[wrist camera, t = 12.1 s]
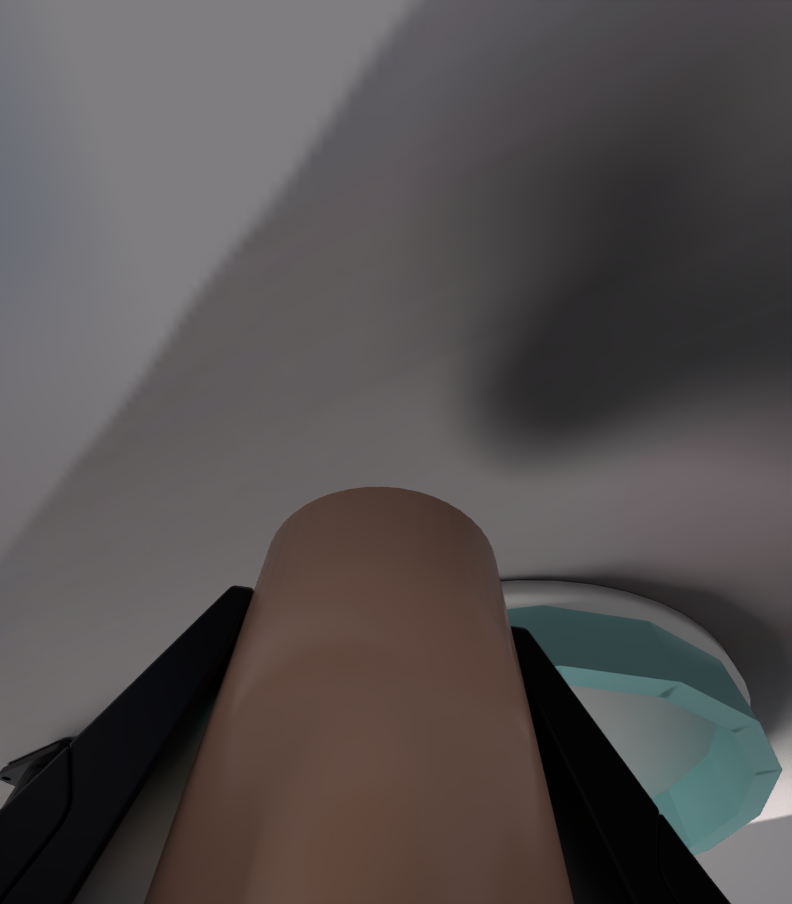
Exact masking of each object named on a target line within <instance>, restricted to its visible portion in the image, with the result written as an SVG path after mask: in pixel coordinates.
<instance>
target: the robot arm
mask: <svg viewBox="0 0 792 904" xmlns="http://www.w3.org/2000/svg"><path fill="white" fill-rule="evenodd" d="M253 592H254V591H253V589H252V588H250V587H243V586H232V587H230V588H229V589H228V590H227V591H226V592H225V593H224V594H223V595H222V596H221V597H220V598H219V599H218V600H217V601H216V602H215V603H214V604H213V605H211V606H210V607H209V608H208V609H207V610H206V611H205V612H204V613H203V614H202V615H201V616H200V617H199V618H198V619H197V620H196V621H195V622H194V623H193V624H192V625H191V626H190V627H189V628H188V629H187V630H186V631H185V632H184V633H183V634H182V635H181V636H180V637H179V638H178V639H177V640H176V641H175V642H174V643H173V644H172V645H170V646H169V647H168V648H167V649H166V650H165V651H164V652H163V653H162V654H161V655H160V656H159V657H158V658H157V659H156V660H155V661H154V662H153V663H152V664H151V665H150V666H149V667H148V668H147V669H146V670H145V671H144V672H143V673H142V674H141V675H140V676H139V677H138V678H137V679H136V680H135V681H134V682H133V683H132V684H131V685H130V686H128V687H127V688H126V689H125V690H124V691H123V692H122V693H121V694H120V695H119V696H118V697H117V698H116V699H115V700H114V701H113V702H112V703H111V704H110V705H109V706H108V707H107V708H106V709H105V710H104V711H103V712H102V713H101V714H100V715H99V716H98V717H97V718H96V719H95V720H94V721H93V722H92V723H91V724H90V725H89V726H87V727H86V728H85V729H84V730H83V731H82V732H81V733H80V734H79V735H78V736H77V737H76V738H75V739H74V740H73V741H72V742H71V743H67V742H59V743H57V744H55V745H53V746H50V747H48V748H46V749H44V750H41V751H39V752H37V753H35V754H33V755H30V756H28V757H26V758H24V759H21V760H19V761H17V762H15V763H13V764H10V765H8V766H6V767H4V768H3V769H2V770H1V771H0V780H2V781H4V782H6V783H9V784H11V785H13V786H15V788H14V789H13V791H12V793H11V794H10V796H9V797H8V799H7V801H6V802H5V804H4V805H3V807H2V808H1V809H0V904H144V902H145V899H146V896H147V893H148V890H149V887H150V885H151V882H152V879H153V876H154V873H155V870H156V868H157V865H158V862H159V859H160V856H161V853H162V851H163V848H164V845H165V842H166V839H167V836H168V834H169V831H170V828H171V825H172V822H173V819H174V817H175V814H176V811H177V808H178V805H179V802H180V799H181V797H182V794H183V791H184V788H185V785H186V782H187V780H188V777H189V774H190V771H191V768H192V765H193V763H194V760H195V757H196V754H197V751H198V748H199V746H200V743H201V740H202V737H203V734H204V731H205V729H206V726H207V723H208V720H209V717H210V714H211V712H212V709H213V706H214V703H215V700H216V697H217V695H218V692H219V689H220V686H221V683H222V680H223V678H224V675H225V672H226V669H227V666H228V663H229V661H230V658H231V655H232V652H233V649H234V646H235V644H236V641H237V638H238V635H239V632H240V629H241V627H242V624H243V621H244V618H245V615H246V612H247V610H248V607H249V604H250V601H251V598H252V595H253ZM511 630H512V634H513V638H514V643H515V647H516V651H517V656H518V660H519V665H520V669H521V673H522V678H523V682H524V686H525V691H526V695H527V700H528V704H529V708H530V713H531V717H532V722H533V726H534V730H535V735H536V739H537V743H538V748H539V752H540V757H541V761H542V765H543V770H544V774H545V778H546V783H547V787H548V792H549V796H550V800H551V805H552V809H553V813H554V818H555V822H556V827H557V831H558V835H559V840H560V844H561V848H562V853H563V857H564V862H565V866H566V870H567V875H568V879H569V883H570V888H571V892H572V897H573V901H574V904H731V903H730V902H729V901H728V899H727V898H726V897H725V896H724V894H723V893H722V892H721V891H720V889H719V888H718V887H717V886H716V884H715V883H714V882H713V881H712V879H711V878H710V877H709V876H708V874H707V873H706V872H705V870H704V869H703V868H702V867H701V865H700V864H699V862H698V861H697V860H696V858H695V857H694V856H693V854H692V853H691V852H690V850H689V849H688V848H687V846H686V845H685V844H684V842H683V841H682V840H681V838H680V837H679V836H678V834H677V833H676V832H675V830H674V829H673V828H672V826H671V825H670V823H669V822H668V821H667V819H666V818H665V817H664V815H663V814H659V809H658V807H657V806H656V804H655V803H654V802H653V800H652V799H651V798H650V796H649V795H648V793H647V792H646V791H645V789H644V788H643V787H642V785H641V784H640V783H639V781H638V780H637V778H636V777H635V776H634V774H633V773H632V772H631V770H630V769H629V767H628V766H627V765H626V763H625V762H624V761H623V759H622V758H621V756H620V755H619V754H618V752H617V751H616V750H615V748H614V747H613V746H612V744H611V743H610V741H609V740H608V739H607V737H606V736H605V735H604V733H603V732H602V730H601V729H600V728H599V726H598V725H597V724H596V722H595V721H594V719H593V718H592V717H591V715H590V714H589V713H588V711H587V710H586V708H585V707H584V706H583V704H582V703H581V702H580V700H579V699H578V698H577V696H576V695H575V693H574V692H573V691H572V689H571V688H570V687H569V685H568V684H567V682H566V681H565V680H564V678H563V677H562V676H561V674H560V673H559V671H558V670H557V669H556V667H555V666H554V665H553V663H552V662H551V660H550V659H549V658H548V656H547V655H546V654H545V652H544V651H543V650H542V648H541V647H540V645H539V644H538V643H537V641H536V640H535V639H534V637H533V636H532V634H531V633H530V632H529V631H528V630H527V629H526V628H524V627H518V626H511Z"/></svg>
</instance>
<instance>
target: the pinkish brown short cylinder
mask: <svg viewBox="0 0 792 904" xmlns="http://www.w3.org/2000/svg"><path fill="white" fill-rule="evenodd" d="M144 904H574V901H573V897H572V892H571V888H570V883H569V879H568V875H567V870H566V866H565V862H564V857H563V853H562V848H561V844H560V840H559V835H558V831H557V827H556V822H555V818H554V813H553V809H552V805H551V800H550V796H549V792H548V787H547V783H546V778H545V774H544V770H543V765H542V761H541V757H540V752H539V748H538V743H537V739H536V735H535V730H534V726H533V722H532V717H531V713H530V708H529V704H528V700H527V695H526V691H525V686H524V682H523V678H522V673H521V669H520V665H519V660H518V656H517V651H516V647H515V643H514V638H513V634H512V630H511V625H510V621H509V616H508V612H507V608H506V603H505V599H504V595H503V590H502V586H501V581H500V577H499V573H498V568H497V564H496V560H495V556H494V552H493V549H492V547H491V545H490V543H489V541H488V539H487V537H486V536H485V534H484V533H483V532H482V530H481V529H480V528H479V527H478V526H477V525H476V524H475V523H474V521H473V520H472V519H470V518H469V517H468V516H467V515H465V514H464V513H463V512H461V511H460V510H458V509H457V508H455V507H453V506H452V505H450V504H448V503H447V502H444V501H442V500H440V499H437V498H435V497H433V496H430V495H426V494H423V493H420V492H417V491H412V490H406V489H401V488H391V487H363V488H355V489H348V490H344V491H340V492H336V493H332V494H329V495H327V496H324V497H321V498H319V499H317V500H315V501H313V502H311V503H309V504H307V505H305V506H304V507H302V508H301V509H299V510H298V511H296V512H295V513H294V514H292V515H291V516H290V517H289V518H288V519H287V520H286V521H285V522H284V523H283V524H282V526H281V527H280V528H279V530H278V531H277V532H276V534H275V536H274V538H273V540H272V542H271V544H270V547H269V550H268V553H267V556H266V558H265V561H264V564H263V567H262V570H261V573H260V575H259V578H258V581H257V584H256V587H255V590H254V592H253V595H252V598H251V601H250V604H249V607H248V610H247V612H246V615H245V618H244V621H243V624H242V627H241V629H240V632H239V635H238V638H237V641H236V644H235V646H234V649H233V652H232V655H231V658H230V661H229V663H228V666H227V669H226V672H225V675H224V678H223V680H222V683H221V686H220V689H219V692H218V695H217V697H216V700H215V703H214V706H213V709H212V712H211V714H210V717H209V720H208V723H207V726H206V729H205V731H204V734H203V737H202V740H201V743H200V746H199V748H198V751H197V754H196V757H195V760H194V763H193V765H192V768H191V771H190V774H189V777H188V780H187V782H186V785H185V788H184V791H183V794H182V797H181V799H180V802H179V805H178V808H177V811H176V814H175V817H174V819H173V822H172V825H171V828H170V831H169V834H168V836H167V839H166V842H165V845H164V848H163V851H162V853H161V856H160V859H159V862H158V865H157V868H156V870H155V873H154V876H153V879H152V882H151V885H150V887H149V890H148V893H147V896H146V899H145V902H144Z"/></svg>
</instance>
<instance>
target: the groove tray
mask: <svg viewBox="0 0 792 904" xmlns="http://www.w3.org/2000/svg"><path fill="white" fill-rule="evenodd" d="M501 586H502V590H503V595H504V599H505V603H506V608H507V612H508V616H509V621H510V625H511V626H518V627H524V628H526V629H527V630H528V631H529V632H530V633H531V634H532V636H533V637H534V639H535V640H536V641H537V643H538V644H539V645H540V647H541V648H542V650H543V651H544V652H545V654H546V655H547V656H548V658H549V659H550V660H551V662H552V663H553V665H554V666H555V667H556V669H557V670H558V671H559V673H560V674H561V676H562V677H563V678H564V680H565V681H566V682H567V684H568V685H569V687H570V688H571V689H572V691H573V692H574V693H575V695H576V696H577V698H578V699H579V700H580V702H581V703H582V704H583V706H584V707H585V708H586V710H587V711H588V713H589V714H590V715H591V717H592V718H593V719H594V721H595V722H596V724H597V725H598V726H599V728H600V729H601V730H602V732H603V733H604V735H605V736H606V737H607V739H608V740H609V741H610V743H611V744H612V746H613V747H614V748H615V750H616V751H617V752H618V754H619V755H620V756H621V758H622V759H623V761H624V762H625V763H626V765H627V766H628V767H629V769H630V770H631V772H632V773H633V774H634V776H635V777H636V778H637V780H638V781H639V783H640V784H641V785H642V787H643V788H644V789H645V791H646V792H647V793H648V795H649V796H650V798H651V799H652V800H653V802H654V803H655V804H656V806H657V807H658V809H659V814H663V815H664V817H665V818H666V819H667V821H668V822H669V823H670V825H671V826H672V828H673V829H674V830H675V832H676V833H677V834H678V836H679V837H680V838H681V840H682V841H683V842H684V844H685V845H686V846H687V848H688V849H689V850H690V852H691V853H692V854H693V855H696V854H699V853H702V852H704V851H707V850H709V849H711V848H712V847H714V846H715V845H716V844H718V843H719V842H721V841H722V840H724V839H725V838H727V837H728V836H730V835H731V834H733V833H734V832H736V831H737V830H738V829H740V828H741V827H743V826H744V825H746V824H747V823H749V822H750V821H752V820H753V819H755V818H756V817H758V816H759V815H760V814H761V812H762V810H763V808H764V806H765V804H766V802H767V800H768V798H769V796H770V794H771V792H772V790H773V788H774V786H775V784H776V782H777V780H778V778H779V776H780V774H781V772H782V768H781V766H780V764H779V762H778V760H777V757H776V755H775V753H774V751H773V749H772V747H771V745H770V743H769V741H768V739H767V737H766V735H765V733H764V730H763V728H762V726H761V724H760V722H759V720H758V719H757V717H756V716H755V714H754V712H753V711H752V709H751V703H750V696H749V693H748V690H747V687H746V684H745V681H744V680H743V678H742V677H741V675H740V674H739V672H738V670H737V669H736V667H735V666H734V664H733V663H732V661H731V660H730V658H729V657H728V655H727V654H726V652H725V650H724V649H723V647H722V646H721V644H720V643H719V642H718V641H717V640H716V639H715V638H714V637H713V636H712V635H711V634H710V633H709V632H708V631H707V630H706V629H705V628H703V627H702V626H700V625H699V624H697V623H696V622H694V621H693V620H691V619H690V618H688V617H687V616H685V615H684V614H682V613H680V612H678V611H676V610H674V609H672V608H670V607H668V606H665V605H663V604H661V603H659V602H657V601H654V600H651V599H648V598H645V597H642V596H639V595H636V594H633V593H630V592H627V591H622V590H617V589H612V588H607V587H603V586H598V585H593V584H584V583H574V582H565V581H549V580H514V581H501Z"/></svg>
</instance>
